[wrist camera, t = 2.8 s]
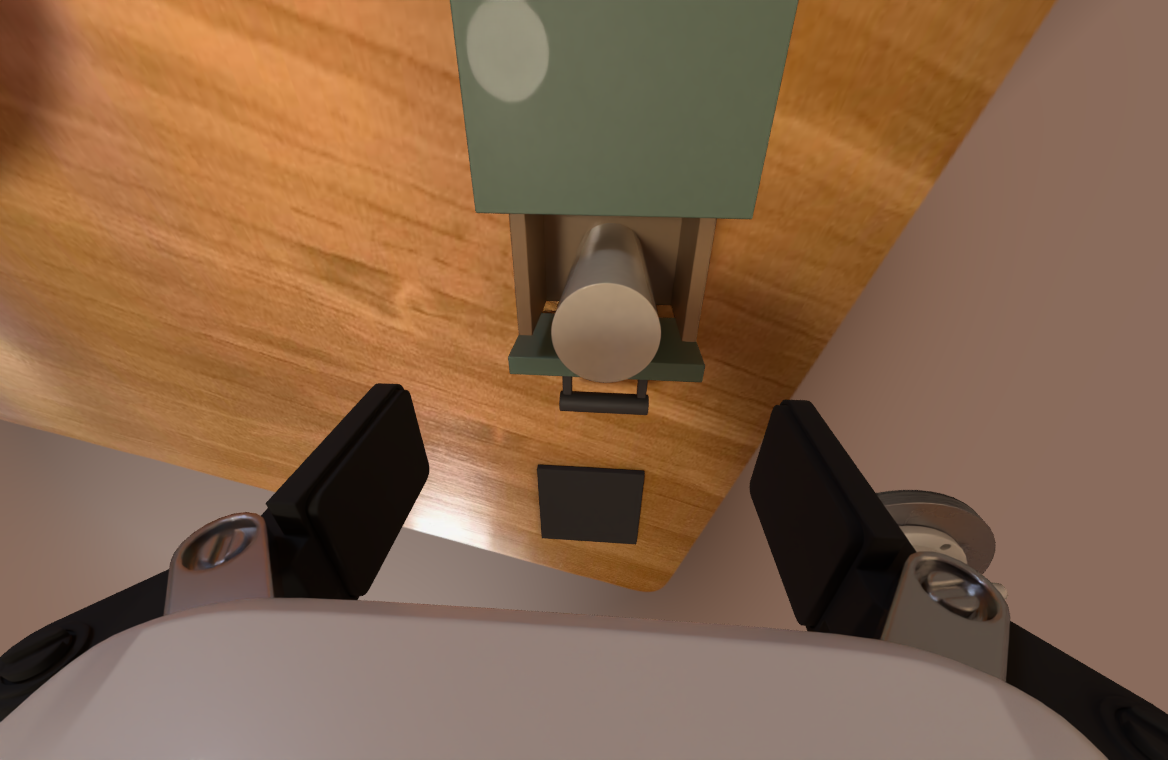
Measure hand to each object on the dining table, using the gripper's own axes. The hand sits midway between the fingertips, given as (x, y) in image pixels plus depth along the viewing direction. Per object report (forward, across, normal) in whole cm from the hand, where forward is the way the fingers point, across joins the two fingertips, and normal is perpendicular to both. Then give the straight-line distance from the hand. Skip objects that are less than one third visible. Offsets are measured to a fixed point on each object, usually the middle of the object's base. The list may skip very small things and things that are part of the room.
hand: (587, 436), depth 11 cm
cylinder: (+18, 0, 0) cm, 18 cm away
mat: (+20, +1, +25) cm, 32 cm away
